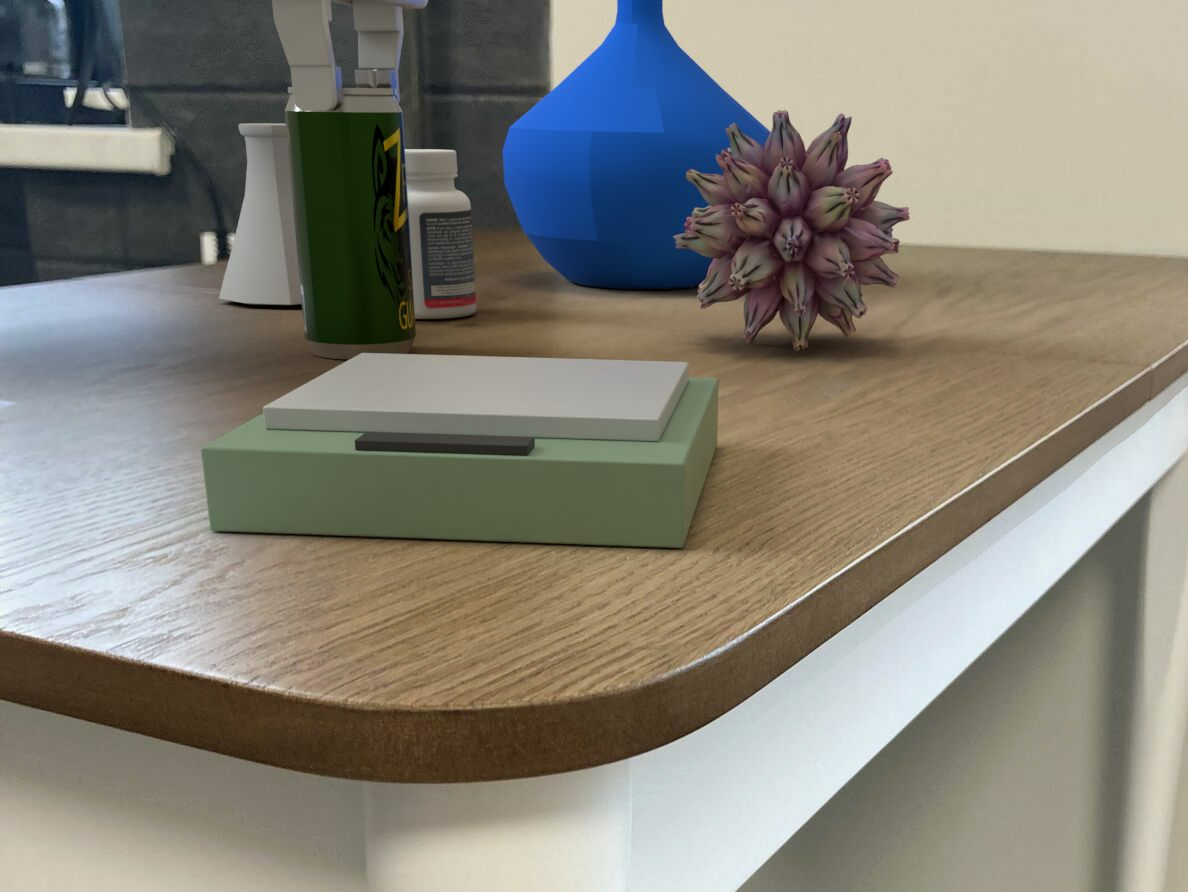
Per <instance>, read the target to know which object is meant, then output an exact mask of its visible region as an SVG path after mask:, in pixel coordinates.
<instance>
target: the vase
mask: <svg viewBox="0 0 1188 892" xmlns="http://www.w3.org/2000/svg"><path fill="white" fill-rule="evenodd" d="M663 3H664V1H663V0H616V9H617V10H616V15H615V16H616V17H615V23H614V25H613V26H612V28H611V29H610V31H609V32H608V34H607V35H606V37H605V38H604V40H603V41H602V42H601V44H600V45H599V46H598V47H597V48H595V50H593V52H592V53H590V54H589V56H587V57H586V58H585V59H584V60H582V62H581V63H580V64H579V65H578V66H576V68H575V69H573V70H572V71H571V72H570V73H569V74H568V75H567V76H566V77H565V78H564V79H563V80H562V81H561V82H560V83H559V84H557V86H555V87H554V88H553V89H552V90H551V91H550V92H549V93H547V94H546V95H545V96H544V97H543V98H541V99H540V100H539V101H538V102H537V103H536V104H534V105H533V106H532V107H531V108H530V109H529V110H528V111H526V112H525V113H524V114H523V115H522V116H520V117H519V118H518V119H516V121H515V122H514V123H512V124H511V125H510V126H509V128H508V131H507V134H506V138H505V141H504V145H503V148H502V165H503V166H502V167H503V182H504V183H503V184H504V187H505V189H506V191H507V195H508V197H509V200H510V202H511V204H512V207H513V209H514V212H515V214H516V216H517V219H518V221H519V224H520V226H521V229H522V231H523V233H524V234H525V236H526V237H527V238H528V240H529V241H530V243H531V244H532V245H533V246H534V248H535V249H536V251H537V252H538V253H539V254H540V256H541V258H542V259H543V260H544V261H545V262H546V263H547V264H548V265H549V266H551V268H552V269H554V270H555V271H556V272H557V273H558V274H559V275H561V277H563V278H564V279H565V280H567V281H568V282H572V283H575V284H577V285H581V286H586V287H593V288H602V289H614V290H615V289H616V290H646V291H647V290H649V291H650V290H676V289H678V290H679V289H687V288H688V289H689V288H696V287H699V285H700V284H701V283H702V282H703V281H704V280H705V279H706V277H707V274H708V270H709V267H710V265H711V263H712V261H713V259H714V258H708V257H705V256H702V255H701V254H700V253H698V252H695V251H693V250H691V249H686V248H676V246H677V244H676V240H675V239H674V236H675V235H678V234H684V233H686V232H685V231H686V227H685V225H684V224H685V223H686V221H687V217H692V212H693V211H694V209H695V208H706V207H707V206H709V204H708V203H707V202H706V200H705V199H704V198H703V196H702V195H701V193H700V191H699V190H698V188H697V187H696V186H695V185H694V184H693V183H691V182H690V181H688V180H687V178H686V172H687V171H688V170H690V169H693V170H695V171H698V172H700V173H706V174H719V175H723V176H724V173H723V170H722V169H721V167H720V166H719V164H718V162H717V160H716V154H718V155H721V151H722V150H727V149H728V148H730V149H731V146H730V139H729V137H728V135H727V133H726V131H725V129H726V128H729V126H730V125H733V123H736V125H737V126H738V128H739V129H740V130H741V132H742V133H744V134H745V135H746V136H748V137H750V138H751V139H753V140H755V141H757V142H758V143H759V144H761V145H762V146H763V148H764V147H765V144H766V141H767V139H768V137H769V135H770V133H771V131H770V130H769V129H768V128H767V127H766V126H765V125H764V124H762V122H760V120H758V119H757V118H756V117H755V116H753V114H752V113H750V112H749V111H748V110H747V109H746V108H745V107H744V106H743V105H742V104H740V103H739V102H738V101H737V100H736V99H735V98H734V97H733V96H732V95H731V94H729V93H728V92H727V91H726V90H725V89H724V88H723V87H722V86H720V84H719V83H717V82H716V80H714V78H713V77H711V75H709V74H708V73H707V71H706V70H704V69H703V68H702V67H701V66H700V65H699V64H698V63H697V62H696V61H695V60H694V59H693V58H692V57H691V56H690V55H689V54H688V53H686V51H684V50H683V49H682V48H681V46H680V45H678V42H677V41H676V39H675V38H674V36H673V35H672V33H671V32H670V30H669V29H668V28H667V26H666V24H665V18H664V11H663V9H664V8H663V5H664V4H663Z"/></svg>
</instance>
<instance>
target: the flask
mask: <svg viewBox="0 0 1188 892" xmlns="http://www.w3.org/2000/svg"><path fill="white" fill-rule="evenodd" d="M238 131H239V134H240V135H241V136H243V137H244V141H245V151H246V161H247V162H246V175H245V186H244V187H245V189H244V197H243V201H242V205H241V210H240V214H239V218H238V223H237V226H236V230H235V236H234V239H233V243H232V247H231V250H230V254H229V258H228V261H227V265H226V268H225V273H224V275H223V279H222V284H221V288H220V292H219V295H218V299H219V300H223V301H225V300H226V301H231V302H235V303H241V304H246V305H252V306H300V305H301V306H302V300H301V289H300V278H299V267H298V255H297V244H296V233H295V222H294V210H293V199H292V188H291V176H290V165H289V154H288V143H287V131H286V123H274V122H273V123H267V122H264V123H261V122H260V123H259V122H254V123H253V122H251V123H248V122H247V123H238Z"/></svg>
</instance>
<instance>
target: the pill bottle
mask: <svg viewBox="0 0 1188 892" xmlns="http://www.w3.org/2000/svg"><path fill="white" fill-rule="evenodd" d="M405 162H406V178H407V195H408V212H409V228H410V245H411V262H412V278H413V295H414V312H415V320H448V319H458V318H463V317H464V318H465V317H469V316H472V315H473V314H474V313H475V312H476V310H477V292H476V275H475V274H476V273H475V258H474V257H475V255H474V254H475V253H474V238H473V236H474V235H473V219H472V215H473V214H472V206H471V205H472V204H471V201H470V198H469V197H468V196H467V194H466V193H464V192H463V191H462V190H458V189H457V188H456V186H455V178H458V176H459V175H458V160H457V151H456V150H454V149H436V148H435V149H433V148H432V149H430V148H425V149H424V148H405Z"/></svg>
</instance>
